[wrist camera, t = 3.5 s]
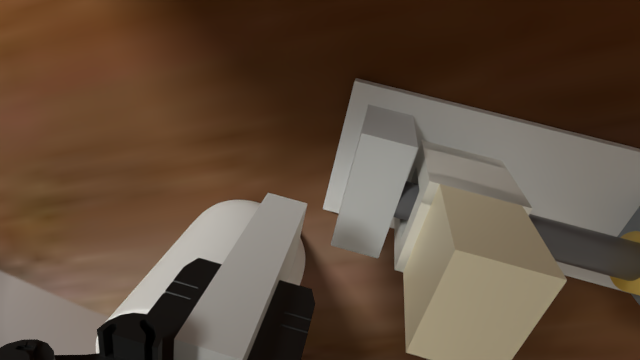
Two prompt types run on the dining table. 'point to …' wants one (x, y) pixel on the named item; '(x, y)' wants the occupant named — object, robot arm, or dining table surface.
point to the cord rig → (519, 158)
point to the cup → (200, 253)
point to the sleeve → (470, 259)
